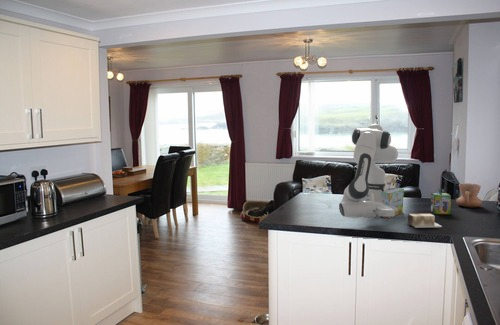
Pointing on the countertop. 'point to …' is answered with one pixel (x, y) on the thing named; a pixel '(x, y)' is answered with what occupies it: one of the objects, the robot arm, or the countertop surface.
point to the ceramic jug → (469, 195)
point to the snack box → (393, 199)
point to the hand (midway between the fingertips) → (396, 209)
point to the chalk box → (440, 203)
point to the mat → (427, 225)
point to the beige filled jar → (421, 219)
